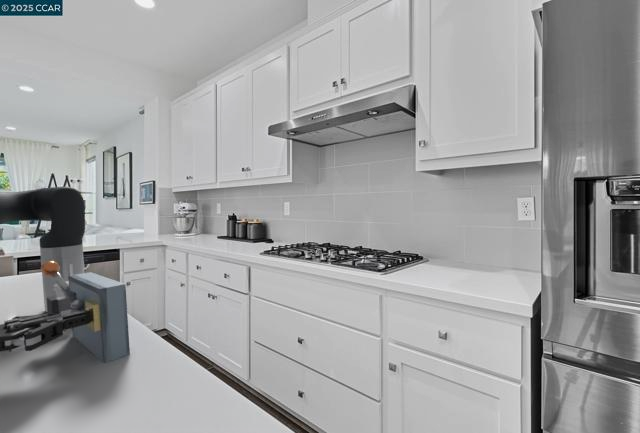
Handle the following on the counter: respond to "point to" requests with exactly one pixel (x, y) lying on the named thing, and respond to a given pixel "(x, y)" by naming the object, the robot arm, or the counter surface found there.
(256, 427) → the counter surface
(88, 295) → the block
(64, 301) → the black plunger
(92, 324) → the tan square block
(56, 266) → the lever
